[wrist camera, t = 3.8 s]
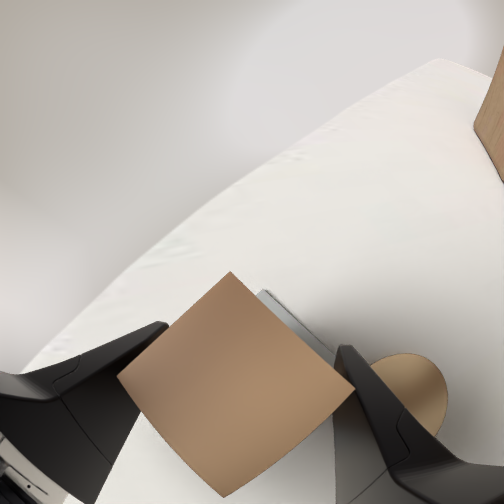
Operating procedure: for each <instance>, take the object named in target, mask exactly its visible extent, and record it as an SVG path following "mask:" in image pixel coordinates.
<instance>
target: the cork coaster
mask: <svg viewBox="0 0 504 504" xmlns="http://www.w3.org/2000/svg"><path fill="white" fill-rule="evenodd" d="M370 367H371V368H372V369H373V370H374V371H375V372H376V373H377V375H378V376H379V377H380V378H381V379H382V380H383V382H384V383H385V384H386V385H387V386H388V387H389V388H390V390H391V391H392V392H393V393H394V394H395V395H396V396H397V398H398V399H399V400H400V401H401V402H402V403H403V405H404V406H405V408H407V409H408V410H409V411H410V413H411V414H412V415H413V416H414V417H415V418H416V419H417V420H418V421H419V423H420V424H421V425H422V426H423V427H424V428H425V429H426V430H427V431H428V432H430V433H431V434H432V435H433V436H434V437H435V436H436V434H437V432H438V431H439V429H440V427H441V425H442V423H443V420H444V417H445V414H446V409H447V401H448V395H447V387H446V383H445V380H444V378H443V375H442V374H441V372H440V370H439V369H438V368H437V367H436V366H435V364H433V363H432V362H431V361H430V360H428V359H426V358H425V357H422V356H420V355H416V354H407V353H405V354H397V355H392V356H388V357H386V358H383V359H381V360H379V361H377V362H375V363H374V364H372V365H371V366H370Z"/></svg>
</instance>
